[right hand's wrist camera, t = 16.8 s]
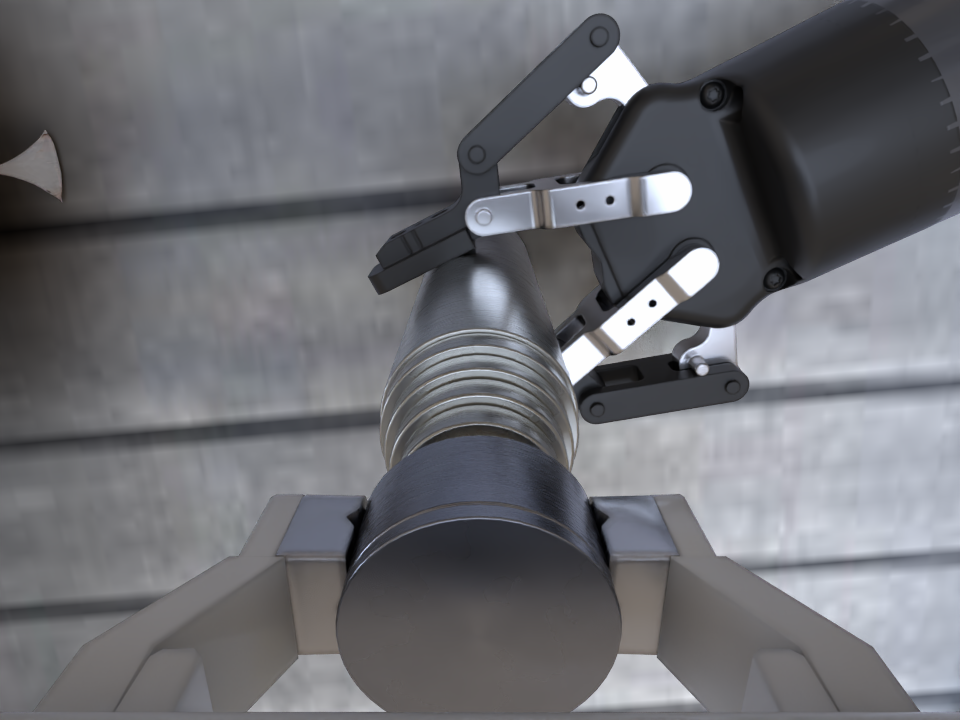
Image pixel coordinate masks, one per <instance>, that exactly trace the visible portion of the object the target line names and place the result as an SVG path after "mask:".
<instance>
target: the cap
mask: <svg viewBox="0 0 960 720" xmlns="http://www.w3.org/2000/svg"><path fill="white" fill-rule="evenodd" d="M621 636H622V618H621V610H620V605H619V602H618V598H617V595H616V591H615V587H614V584H613V580H612V577H611V574H610V571H609V568H608V564H607V561H606V557H605V553H604V550H603V546H602V543H601V539H600V535H599V531H598V528H597V525H596V522H595V518H594V515H593V511H592V508H591V504H590V501H589V499H588V497H587V495H586V493H585V491H584V489H583V488H582V486H581V485H580V484H579V482H578V481H577V479H576V478H575V477H574V476H573V475H572V474H571V473H570V472H569V471H568V469H567V468H566V467H564V466H563V465H562V464H561V463H559V462H558V461H557V460H556V459H554V458H553V457H551V456H549V455H548V454H546V453H545V452H543V451H541V450H539V449H537V448H535V447H533V446H530V445H528V444H526V443H522V442H519V441H516V440H513V439H508V438H502V437H497V436H483V435H475V436H461V437H455V438H450V439H445V440H442V441H439V442H435V443H432V444H430V445H427V446H425V447H423V448H421V449H418V450H417V451H415V452H413V453H412V454H410V455H408V456H406V457H405V458H403V459H402V460H401V461H400V462H398V463H397V464H396V465H395V466H393V467H392V468H391V469H390V470H389V471H388V472H387V473H386V474H385V475H384V476H383V478H382V479H381V480H380V482H379V483H378V485H377V486H376V487H375V489H374V491H373V493H372V495H371V497H370V498H369V500H368V503H367V506H366V509H365V513H364V516H363V520H362V523H361V527H360V530H359V533H358V537H357V540H356V544H355V548H354V551H353V555H352V558H351V562H350V565H349V569H348V572H347V576H346V579H345V582H344V586H343V590H342V593H341V596H340V600H339V603H338V607H337V614H336V639H337V644H338V649H339V652H340V655H341V658H342V661H343V663H344V665H345V667H346V669H347V671H348V673H349V674H350V676H351V678H352V679H353V680H354V682H355V683H356V684H357V686H358V687H359V688H360V690H361V691H362V692H363V693H364V694H365V695H366V696H367V697H368V698H369V699H370V700H372V701H373V702H374V703H375V704H377V705H378V706H379V707H381V708H382V709H383V710H385V711H386V712H571V711H573V710H574V709H575V708H577V707H578V706H579V705H581V704H582V703H583V702H585V701H586V700H587V699H588V698H589V697H590V696H591V695H592V694H593V693H594V692H595V691H596V690H597V689H598V687H599V686H600V685H601V684H602V682H603V681H604V680H605V678H606V677H607V675H608V673H609V672H610V670H611V668H612V666H613V664H614V662H615V659H616V656H617V654H618V651H619V646H620V641H621Z"/></svg>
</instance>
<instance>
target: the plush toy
mask: <svg viewBox="0 0 960 720" xmlns="http://www.w3.org/2000/svg"><path fill="white" fill-rule="evenodd" d="M0 174H2V175H7V176H12V177H15V178H18V179H21V180H24V181H27V182H29V183H32V184H34V185H36V186H38V187H40V188H42V189H43V190H45V191H46V192H48V193H49V194H51V195H52V196H54V197H56V198H57V199H59V200H60V201H61V202H62V178H61V170H60V166H59V161H58V157H57V153H56V150H55V146H54V143H53V141H52V139H51V137H50V136H49V134H48V133H47V131H46V130H44V132H43V134H42V135H41V136H40V137H39V139H38V140H37V141H36V142H35V143H34V144H33V145H31V146H30V147H29V148H28V149H27V150H25V151H24V152H23V153H21V154H20V155H18V156H17V157H15V158H13V159H11V160H9V161H7V162H5V163H3V164H0Z"/></svg>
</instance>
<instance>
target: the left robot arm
mask: <svg viewBox="0 0 960 720" xmlns="http://www.w3.org/2000/svg"><path fill="white" fill-rule="evenodd" d="M619 40H620V30H619V27H618V24H617V23H616V21H615V20H614V19H613V18H612V17H610V16H609V15H606V14H594V15H592V16H590V17H589V18H587V19H586V20H585V21H584V22H583V23H582V24H581V25H579V26H578V27H577V28H576V29H575V30H574V31H573V32H572V33H571V34H570V35H569V36H568V37H567V38H566V39H565V40H564V41H563V42H561V43H560V44H559V45H558V46H557V47H556V48H555V49H554V50H553V51H552V52H551V53H550V54H549V55H548V56H547V57H546V58H545V59H544V60H543V61H542V62H541V63H540V64H539V65H538V66H537V67H536V68H535V69H534V70H533V71H532V72H531V73H530V74H529V75H528V76H527V77H526V78H525V79H524V80H523V81H522V82H520V83H519V84H518V85H517V86H516V87H515V88H514V89H513V90H512V91H511V92H510V93H509V94H508V95H507V96H506V97H505V98H504V99H503V100H502V101H501V102H500V103H499V104H498V105H497V106H496V107H495V108H494V109H493V110H492V111H491V112H490V113H489V114H488V115H487V116H486V117H485V118H484V119H483V120H482V121H481V122H480V123H478V124H477V125H476V126H475V127H474V128H473V129H472V130H471V131H470V132H469V133H468V134H467V135H466V136H465V137H464V138H463V140H462V141H461V143H460V145H459V147H458V151H457V157H458V161H459V169H460V177H461V185H462V192H461V195H460V197H459V198H458V200H457V201H456V202H455V203H454V204H452V205H451V206H449V207H447V208H445V209H443V210H441V211H439V212H437V213H435V214H433V215H431V216H429V217H427V218H425V219H423V220H421V221H419V222H417V223H416V224H414V225H412V226H410V227H408V228H406V229H404V230H402V231H400V232H398V233H396V234H394V235H392V236H391V237H390V238H389V239H388V241H387V242H386V243H385V244H384V245H383V246H382V248H381V249H380V250H379V252H378V253H377V255H376V257H377V259H378V261H379V262H380V263H379V264H378V265H376V266H375V267H374V268H373V270H372V271H371V273H370V274H369V275H368V278H369V279H370V281H371V283H372V285H373V286H374V288H375V290H376V292H377V293H378V295H380V294H383V293H386V292H388V291H390V290H392V289H394V288H396V287H398V286H400V285H402V284H404V283H406V282H408V281H410V280H412V279H414V278H416V277H418V276H420V275H422V274H424V273H426V272H428V271H430V270H432V269H434V268H436V267H438V266H440V265H442V264H444V263H446V262H448V261H450V260H451V259H454V258H457V257H459V256H461V255H463V254H465V253H467V252H469V251H471V250H473V249H475V240H476V239H478V238H480V237H482V236H490V235H496V234H503V233H510V232H516V231H523V230H529V229H538V228H541V229H555V228H562V227H569V226H574V227H575V229H576V231H577V233H578V234H579V235H580V237H581V238H582V239H583V240H584V242H585V243H586V244H587V245H588V246H589V248H590V249H591V253H592V260H593V268H594V272H595V275H596V277H597V279H598V281H599V285H598V286H597V287H596V288H595V289H594V290H593V291H591V292H590V293H589V294H588V295H587V296H586V297H585V298H584V299H583V300H582V301H581V302H580V303H579V305H578V307H577V309H576V311H575V312H574V313H573V314H572V315H571V316H570V317H569V318H567V319H566V320H565V321H564V322H563V323H562V324H561V325H560V326H558V327H557V328H556V329H555V330H554V332H555V335H556V338H557V341H558V344H559V347H560V350H561V353H562V356H563V359H564V362H565V365H566V367H567V370H568V373H569V376H570V379H571V382H572V385H573V388H574V391H575V394H576V398H577V403H578V409H579V410H580V413H581V415H582V417H583V419H584V420H585V421H587V422H589V423H591V424H601V423H607V422H613V421H620V420H626V419H632V418H638V417H644V416H650V415H656V414H662V413H668V412H674V411H680V410H686V409H692V408H698V407H704V406H710V405H716V404H722V403H728V402H734V401H737V400H739V399H741V398H742V397H743V396H744V395H745V394H746V393H747V391H748V389H749V380H748V377H747V376H746V375H745V374H744V373H743V372H742V371H741V370H740V368H739V367H738V365H737V345H736V324H737V323H739V322H740V321H742V320H743V319H744V318H745V317H746V316H747V315H748V314H749V313H750V312H751V311H752V309H753V308H754V307H755V306H756V305H757V304H758V303H759V302H761V301H762V300H763V299H764V298H766V297H767V296H768V295H770V294H772V293H774V292H777V291H779V290H782V289H785V288H789V287H792V286H795V285H798V284H801V283H804V282H807V281H809V280H811V279H813V278H816V277H818V276H820V275H822V274H825V273H827V272H829V271H831V270H834V269H836V268H838V267H840V266H843V265H845V264H847V263H849V262H852V261H854V260H856V259H858V258H861V257H863V256H865V255H867V254H869V253H872V252H874V251H876V250H878V249H881V248H883V247H885V246H887V245H890V244H892V243H894V242H897V241H899V240H901V239H903V238H906V237H908V236H910V235H912V234H915V233H917V232H919V231H921V230H924V229H926V228H928V227H930V226H932V225H934V224H936V223H939V222H941V221H943V220H945V219H948V218H950V217H952V216H955V215H957V214H959V213H960V0H844V1H843V2H841V3H839V4H837V5H835V6H833V7H831V8H829V9H827V10H825V11H823V12H821V13H819V14H817V15H816V16H814V17H812V18H810V19H808V20H806V21H804V22H802V23H800V24H798V25H796V26H794V27H792V28H790V29H788V30H786V31H784V32H783V33H781V34H779V35H777V36H775V37H773V38H771V39H769V40H767V41H765V42H763V43H761V44H759V45H757V46H755V47H753V48H751V49H750V50H748V51H746V52H744V53H742V54H740V55H738V56H736V57H734V58H732V59H730V60H728V61H726V62H724V63H722V64H720V65H718V66H716V67H715V68H713V69H711V70H709V71H707V72H705V73H703V74H701V75H699V76H697V77H695V78H693V79H690V80H688V81H686V82H683V83H677V84H671V83H655V84H649V85H648V84H647V82H646V81H645V80H644V78H643V77H642V75H641V74H640V73H639V71H638V70H637V69H636V67H635V66H634V65H633V63H632V62H631V61H630V59H629V58H628V57H627V55H626V54H625V53H624V51H623V50H622V49H621V47H620V46H619V45H618V44H619ZM564 99H565V100H566V101H567V102H568V103H569V104H570V105H571V106H573V107H577V108H584V107H590V106H592V105H594V104H596V103H597V102H599V101H600V100H602V99H609V100H612V101H614V102H615V103H616V104H617V105H618V108H617V110H616V112H615V114H614V115H613V117H612V119H611V121H610V123H609V124H608V126H607V128H606V130H605V131H604V133H603V135H602V137H601V139H600V140H599V142H598V144H597V146H596V148H595V149H594V151H593V153H592V155H591V157H590V158H589V160H588V162H587V164H586V166H585V167H584V169H583V171H582V172H579V173H572V174H566V175H560V176H553V177H547V178H541V179H536V180H532V181H529V182H525V183H518V184H512V185H506V186H499V176H498V166H497V163H498V162H499V161H500V160H501V159H502V158H503V157H504V156H505V155H506V154H507V153H508V152H509V151H510V150H511V149H512V148H513V147H514V146H516V145H517V144H518V143H519V142H520V141H521V140H522V139H523V138H524V137H525V136H526V135H527V134H528V133H529V132H530V131H531V130H532V129H534V128H535V127H536V126H537V125H538V124H539V123H540V122H541V121H542V120H543V119H544V118H545V117H546V116H547V115H548V114H549V113H550V112H551V111H553V110H554V109H555V108H556V107H557V106H558V105H559V104H560V103H561V102H562V101H563V100H564ZM629 319H631V320H629ZM628 320H629V321H628ZM659 320H665V321H671V322H678V323H684V324H690V325H696V326H700V328H699V330H698V331H697V333H696V334H695V335H693V336H692V337H690V338H687V339H684V340H682V341H680V342H679V343H678V344H676V346H675V347H674V349H673V352H672V353H670V354H664V355H659V356H653V357H647V358H641V359H635V360H630V361H624V362H618V363H612V364H606V365H600V366H597V365H598V364H599V363H600V362H602V361H603V360H604V359H605V358H606V357H608V356H610V355H617V354H619V353H621V352H622V351H624V350H625V349H626V348H627V347H628V346H630V345H631V344H632V343H633V342H634V341H635V340H637V339H638V338H639V337H640V336H641V335H643V334H644V333H645V332H646V331H647V330H648V329H650V328H651V327H652V326H653V325H654V324H655V323H657V322H658V321H659Z"/></svg>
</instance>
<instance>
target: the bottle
mask: <svg viewBox="0 0 960 720" xmlns="http://www.w3.org/2000/svg"><path fill="white" fill-rule="evenodd" d="M578 420H579V415H578V403H577V398H576V394H575V391H574V388H573V385H572V382H571V379H570V376H569V373H568V370H567V367H566V365H565V362H564V359H563V356H562V353H561V350H560V347H559V344H558V341H557V338H556V335H555V332H554V329H553V326H552V323H551V320H550V317H549V314H548V311H547V309H546V306H545V303H544V300H543V297H542V294H541V291H540V288H539V285H538V282H537V279H536V276H535V273H534V270H533V267H532V264H531V261H530V258H529V256H528V253H527V250H526V247H525V245H524V243H523V241H522V239H521V238H520V237H519V235H518V234H517V233H516V232H510V233H503V234H496V235H490V236H482V237H480V238H478V239H476V240H475V249H473V250H471V251H469V252H467V253H465V254H463V255H461V256H459V257H457V258H454V259H451V260H450V261H448V262H446V263H444V264H442V265H440V266H438V267H436V268H434V269H432V270H430V271H428V272H426V273H425V274H424V277H423V280H422V283H421V286H420V289H419V292H418V295H417V298H416V300H415V303H414V306H413V309H412V312H411V315H410V318H409V321H408V323H407V326H406V329H405V332H404V335H403V338H402V341H401V344H400V347H399V349H398V352H397V355H396V358H395V361H394V364H393V367H392V370H391V373H390V375H389V378H388V381H387V384H386V387H385V390H384V394H383V397H382V401H381V410H380V443H381V449H382V453H383V456H384V459H385V464H386V469H387V472H388V471H389V470H390V469H391V468H392V467H393V466H395V465H396V464H397V463H398V462H400V461H401V460H402V459H403V458H405V457H406V456H408V455H410V454H412V453H413V452H415V451H417V450H418V449H421V448H423V447H425V446H427V445H430V444H432V443H435V442H439V441H442V440H445V439H450V438H455V437H461V436H475V435H483V436H497V437H502V438H508V439H513V440H516V441H519V442H522V443H526V444H528V445H530V446H533V447H535V448H537V449H539V450H541V451H543V452H545V453H546V454H548V455H549V456H551V457H553V458H554V459H556V460H557V461H558V462H559V463H561V464H562V465H563V466H564V467H566V468H567V469H568V471H569V472H570V473H571V470H572V467H573V462H574V459H575V456H576V452H577V448H578V440H579V422H578Z"/></svg>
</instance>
